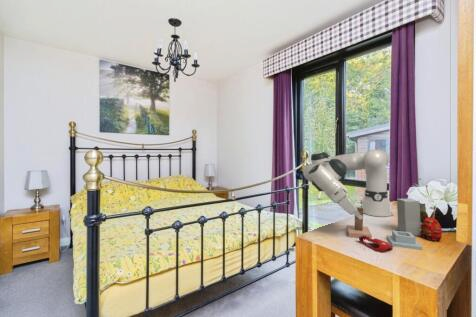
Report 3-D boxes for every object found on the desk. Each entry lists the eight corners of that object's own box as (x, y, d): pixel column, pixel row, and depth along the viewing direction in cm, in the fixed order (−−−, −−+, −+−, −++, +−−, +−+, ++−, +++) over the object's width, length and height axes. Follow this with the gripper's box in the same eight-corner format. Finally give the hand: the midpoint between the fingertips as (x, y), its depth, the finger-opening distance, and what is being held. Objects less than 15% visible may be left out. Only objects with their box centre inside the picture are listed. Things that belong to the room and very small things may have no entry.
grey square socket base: (386, 237, 106) (386, 228, 106) (413, 240, 103) (413, 231, 103) (392, 246, 97) (392, 236, 97) (422, 249, 94) (422, 239, 93)
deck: (346, 228, 118) (346, 224, 118) (367, 231, 115) (367, 226, 115) (348, 236, 107) (348, 232, 107) (371, 239, 104) (371, 235, 104)
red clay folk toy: (416, 236, 108) (417, 203, 108) (427, 235, 110) (428, 202, 110) (434, 242, 101) (436, 207, 101) (446, 241, 103) (447, 206, 103)
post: (354, 228, 113) (355, 206, 113) (361, 228, 112) (362, 207, 112) (355, 230, 110) (355, 208, 110) (362, 230, 109) (363, 208, 109)
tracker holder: (390, 242, 99) (397, 245, 89) (387, 253, 98) (394, 257, 89) (358, 231, 103) (362, 233, 94) (355, 242, 103) (359, 244, 93)
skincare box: (421, 236, 108) (422, 201, 108) (403, 235, 110) (404, 200, 109) (411, 230, 116) (413, 198, 116) (395, 229, 118) (396, 197, 117)
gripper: (332, 193, 124) (352, 214, 121) (333, 201, 105) (357, 226, 102) (341, 185, 123) (362, 206, 120) (344, 192, 104) (369, 217, 100)
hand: (360, 215), depth 111 cm, fingers open, 8 cm apart
